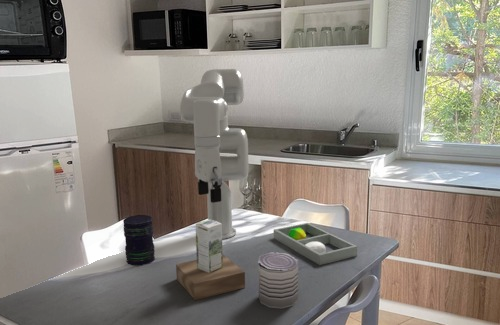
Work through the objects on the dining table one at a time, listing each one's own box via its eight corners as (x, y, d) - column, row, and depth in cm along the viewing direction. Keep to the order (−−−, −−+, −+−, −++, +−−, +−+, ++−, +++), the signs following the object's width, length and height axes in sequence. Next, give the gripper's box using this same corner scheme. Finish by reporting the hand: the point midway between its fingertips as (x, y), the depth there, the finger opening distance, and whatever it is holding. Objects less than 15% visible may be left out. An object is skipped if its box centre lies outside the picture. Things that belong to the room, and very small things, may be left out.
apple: (289, 222, 174) (308, 227, 168) (297, 229, 178) (316, 234, 172) (281, 239, 172) (300, 244, 166) (290, 246, 176) (309, 252, 170)
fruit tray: (273, 238, 179) (273, 229, 178) (307, 231, 186) (307, 222, 186) (319, 265, 153) (319, 255, 152) (357, 255, 160) (357, 246, 160)
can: (278, 286, 139) (278, 248, 136) (306, 299, 130) (306, 259, 128) (250, 298, 131) (249, 259, 129) (278, 313, 123) (278, 271, 121)
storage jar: (122, 266, 156) (119, 223, 153) (130, 254, 165) (127, 215, 162) (151, 265, 155) (148, 223, 152) (158, 254, 165) (155, 214, 162)
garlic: (308, 258, 160) (308, 247, 159) (299, 251, 166) (299, 241, 165) (328, 254, 162) (328, 244, 162) (319, 248, 169) (319, 238, 168)
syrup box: (210, 262, 144) (208, 218, 141) (223, 267, 140) (222, 222, 138) (196, 268, 140) (194, 223, 137) (209, 273, 136) (208, 227, 133)
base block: (176, 279, 145) (176, 264, 144) (223, 268, 152) (222, 254, 151) (195, 300, 131) (194, 283, 130) (245, 287, 138) (244, 271, 137)
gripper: (185, 139, 140) (187, 193, 144) (206, 147, 125) (209, 207, 129) (208, 137, 144) (210, 189, 147) (231, 144, 129) (233, 203, 132)
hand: (209, 197), depth 138 cm, fingers open, 9 cm apart
